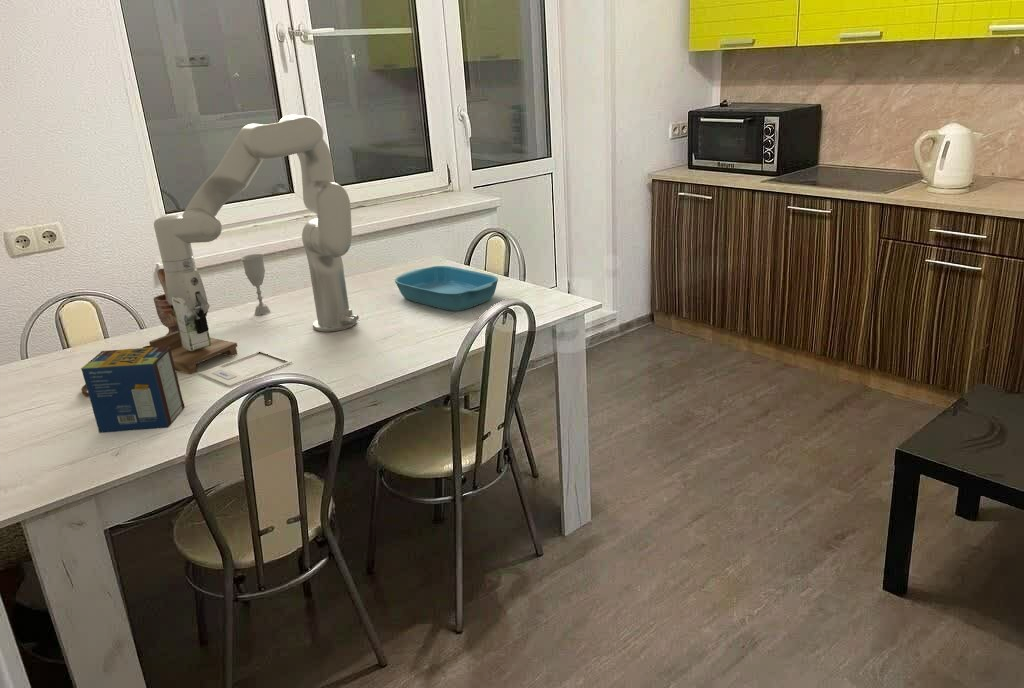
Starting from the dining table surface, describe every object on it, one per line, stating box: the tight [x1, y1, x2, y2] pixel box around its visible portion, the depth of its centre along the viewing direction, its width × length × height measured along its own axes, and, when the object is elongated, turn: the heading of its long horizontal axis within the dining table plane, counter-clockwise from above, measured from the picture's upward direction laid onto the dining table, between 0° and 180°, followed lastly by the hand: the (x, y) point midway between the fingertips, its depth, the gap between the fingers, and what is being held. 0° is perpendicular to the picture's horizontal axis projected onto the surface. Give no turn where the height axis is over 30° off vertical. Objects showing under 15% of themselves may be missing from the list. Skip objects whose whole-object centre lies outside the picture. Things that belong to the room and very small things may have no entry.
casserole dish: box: [394, 265, 499, 312], centre depth 243 cm, size 37×22×7 cm, turn 46°
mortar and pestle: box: [153, 267, 179, 336], centre depth 219 cm, size 12×9×20 cm
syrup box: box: [172, 297, 211, 351], centre depth 201 cm, size 6×6×14 cm
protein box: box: [80, 346, 185, 434], centre depth 169 cm, size 10×15×16 cm
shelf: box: [148, 331, 238, 375], centre depth 204 cm, size 14×16×7 cm
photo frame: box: [198, 350, 293, 388], centre depth 197 cm, size 15×1×18 cm
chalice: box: [240, 253, 271, 316], centre depth 238 cm, size 7×7×18 cm
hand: (193, 329), depth 202 cm, fingers closed on syrup box, 6 cm apart
